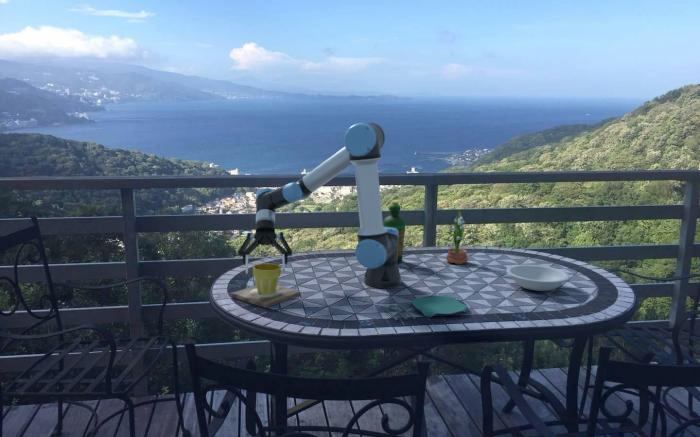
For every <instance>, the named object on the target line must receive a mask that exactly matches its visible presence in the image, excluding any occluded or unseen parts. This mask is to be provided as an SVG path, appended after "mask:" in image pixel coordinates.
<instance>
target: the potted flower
mask: <svg viewBox="0 0 700 437" xmlns="http://www.w3.org/2000/svg"><path fill="white" fill-rule="evenodd" d="M454 222H455V223H454ZM453 223H454V226H453V227H452V231H453V233H452V234H453V235H452V238H453V241H454V248H449V249H447V255H446V257H445V259H446V261H447V262H448V263H449V262H450V264H452V263H455V264H454V265H464V264H466V263H468V260H469V256H468V255H467V252H468V251H467V250H466V249H464V248H463V249H462V248H460V244H461V242H462V239H463V236H464V232H465V226H464V225H463V224H465V220H464V217H463V216H462V213H461V212H460V210H459V211H457V213H456V216H455V218H454V220H453ZM463 263H464V264H463Z"/></svg>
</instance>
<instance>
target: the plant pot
mask: <svg viewBox="0 0 700 437" xmlns="http://www.w3.org/2000/svg"><path fill="white" fill-rule="evenodd" d="M281 272H282V268H281V265H280V264H278V263H271V262H270V263H268V262H266V263H265V262H263V263H257V264H254V265H253V266H252V276H253V277H254V280H255V286H257V291H258V293H260V294H273V293H275V291H276V287H277V285H278V282H279V281H278V280H279V278H280V277H281Z"/></svg>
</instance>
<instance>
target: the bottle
mask: <svg viewBox="0 0 700 437" xmlns="http://www.w3.org/2000/svg"><path fill="white" fill-rule="evenodd" d="M388 211H389V215H388V216H386V217H385V218H384V219H383V227H390V228H396V229H397V230H398V235H399V238H398V260H397V264H400V263H402V262H403V254H404V246H405V234H406V233H405V232H406V226H407V225H406V224H407V222H406V220H405V218H403V217H402V216H400V211H402V209H401V206H400V204H399V202H398V201H391V204H389V207H388Z"/></svg>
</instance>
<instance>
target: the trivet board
mask: <svg viewBox="0 0 700 437" xmlns="http://www.w3.org/2000/svg"><path fill="white" fill-rule="evenodd" d="M300 296H301V291H300V290H297V289H296V290H295V289H293V288H290V287H286V286H282V285H279V284H277V287H276V291H275V293H273V294H260V293H258V291H257V286H256V285H253V286H251V287H247V288H243V289H240V290H236V291H234V292H231V298H234V299H237V300H240V301H243V302H246V303H249V304H253V305H256V306H259V307H262V308H265V309H266V308H269V307H272V306H274V305H277V304H281V303H282V302H286V301H288V300H292V299H294V298H297V297H300Z"/></svg>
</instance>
